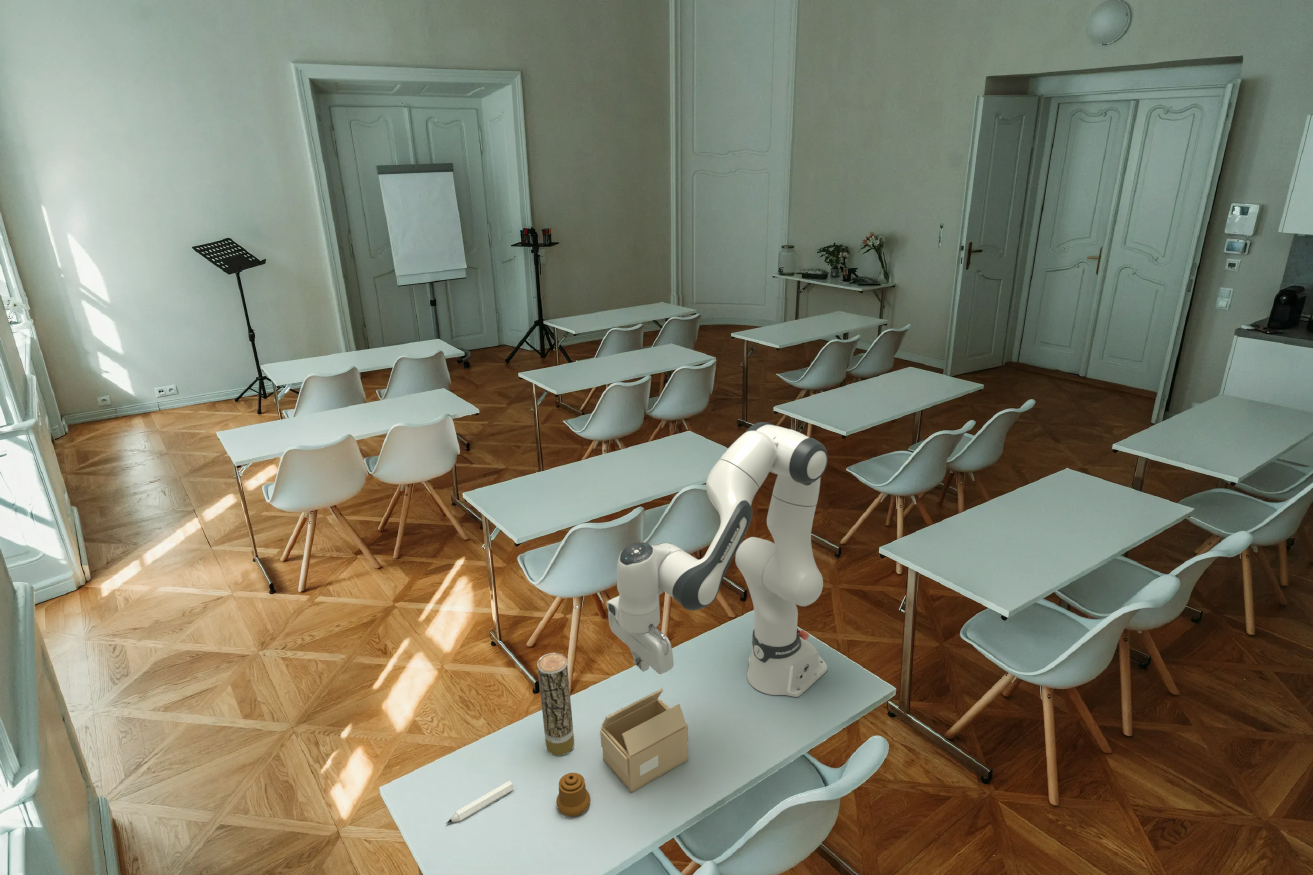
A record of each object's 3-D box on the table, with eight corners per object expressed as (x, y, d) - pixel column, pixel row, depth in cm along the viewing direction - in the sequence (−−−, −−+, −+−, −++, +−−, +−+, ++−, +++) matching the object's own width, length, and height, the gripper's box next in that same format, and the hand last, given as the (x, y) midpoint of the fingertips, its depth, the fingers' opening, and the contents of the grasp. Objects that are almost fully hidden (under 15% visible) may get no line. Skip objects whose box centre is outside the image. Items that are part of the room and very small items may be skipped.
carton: (660, 729, 191) (659, 696, 187) (690, 758, 182) (689, 725, 178) (601, 761, 182) (598, 728, 178) (629, 794, 173) (627, 760, 169)
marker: (446, 829, 167) (511, 789, 176) (449, 831, 165) (515, 791, 174) (442, 817, 167) (507, 779, 176) (445, 819, 165) (511, 780, 174)
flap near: (630, 756, 170) (622, 734, 170) (629, 755, 170) (621, 733, 170) (686, 725, 178) (679, 704, 178) (685, 724, 178) (678, 703, 178)
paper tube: (569, 758, 183) (561, 673, 174) (542, 754, 184) (533, 670, 175) (578, 737, 189) (570, 654, 180) (551, 734, 191) (543, 651, 181)
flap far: (656, 696, 187) (662, 688, 183) (657, 698, 186) (663, 689, 183) (601, 725, 178) (606, 716, 175) (602, 726, 178) (607, 718, 175)
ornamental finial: (569, 824, 166) (550, 804, 171) (597, 805, 171) (577, 785, 176) (567, 797, 163) (547, 776, 168) (595, 777, 167) (574, 758, 173)
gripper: (680, 632, 160) (681, 686, 166) (625, 588, 176) (628, 639, 181) (655, 644, 157) (657, 698, 162) (602, 598, 173) (605, 649, 178)
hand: (641, 666), depth 172 cm, fingers closed
